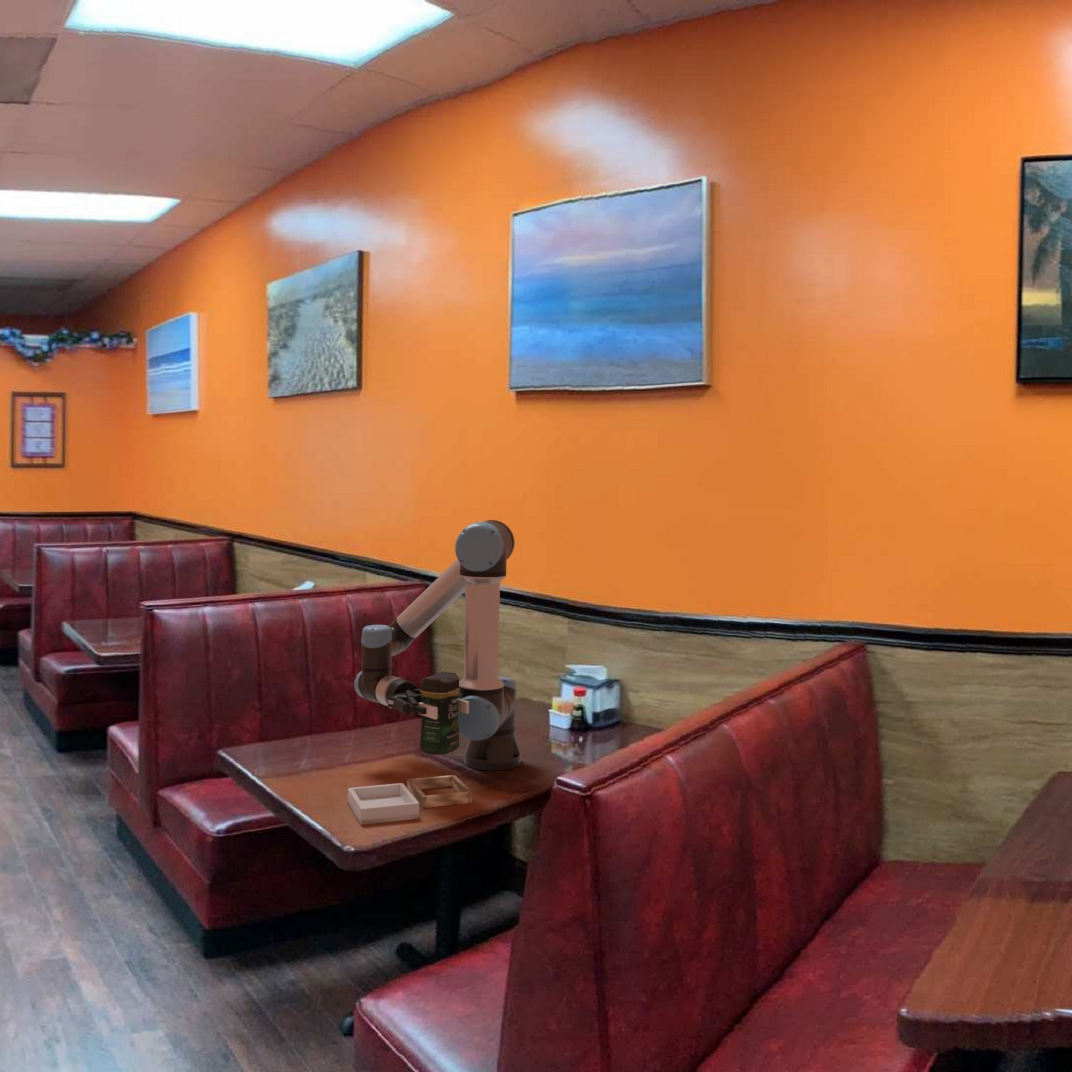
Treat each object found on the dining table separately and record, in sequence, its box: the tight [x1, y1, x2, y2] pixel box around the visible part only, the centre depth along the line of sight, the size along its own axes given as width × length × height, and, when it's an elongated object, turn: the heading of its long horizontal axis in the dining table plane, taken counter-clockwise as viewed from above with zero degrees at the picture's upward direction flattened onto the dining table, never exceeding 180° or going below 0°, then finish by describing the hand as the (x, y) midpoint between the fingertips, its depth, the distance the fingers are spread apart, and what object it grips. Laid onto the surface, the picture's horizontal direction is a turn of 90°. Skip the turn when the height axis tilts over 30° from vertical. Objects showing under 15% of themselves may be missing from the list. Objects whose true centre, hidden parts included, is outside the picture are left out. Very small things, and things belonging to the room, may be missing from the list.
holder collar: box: [406, 774, 473, 809], centre depth 241 cm, size 12×14×2 cm
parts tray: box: [347, 782, 420, 826], centre depth 230 cm, size 13×15×4 cm
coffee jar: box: [419, 671, 460, 756], centre depth 240 cm, size 10×8×19 cm
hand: (452, 710), depth 237 cm, fingers closed on coffee jar, 8 cm apart
